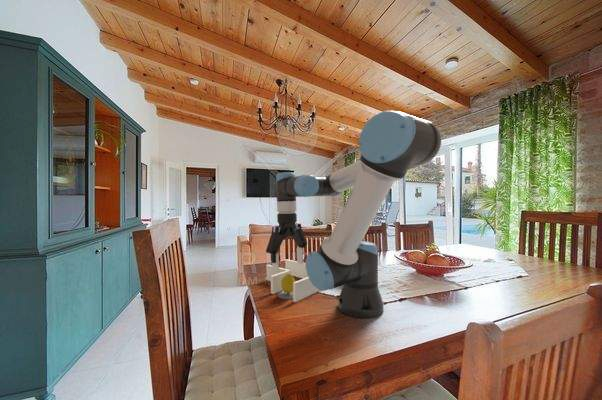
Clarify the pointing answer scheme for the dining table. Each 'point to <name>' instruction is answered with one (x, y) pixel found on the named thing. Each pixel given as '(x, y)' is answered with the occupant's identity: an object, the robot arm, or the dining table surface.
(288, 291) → the lemon
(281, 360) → the dining table surface
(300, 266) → the bent lane
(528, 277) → the dining table surface
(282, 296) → the pad
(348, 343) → the dining table surface
